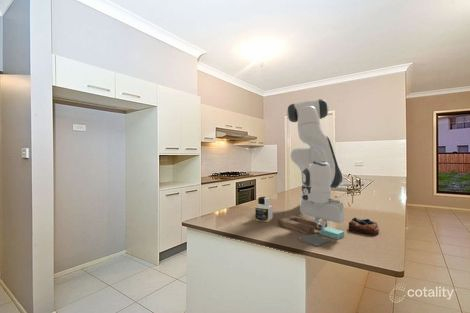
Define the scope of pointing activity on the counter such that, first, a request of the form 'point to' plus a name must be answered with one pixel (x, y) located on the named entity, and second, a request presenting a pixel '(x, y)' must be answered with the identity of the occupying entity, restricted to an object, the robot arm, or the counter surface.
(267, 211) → the white black angular body
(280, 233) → the counter surface
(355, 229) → the pastry
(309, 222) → the channel board
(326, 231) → the block
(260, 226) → the counter surface
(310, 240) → the slate mat
